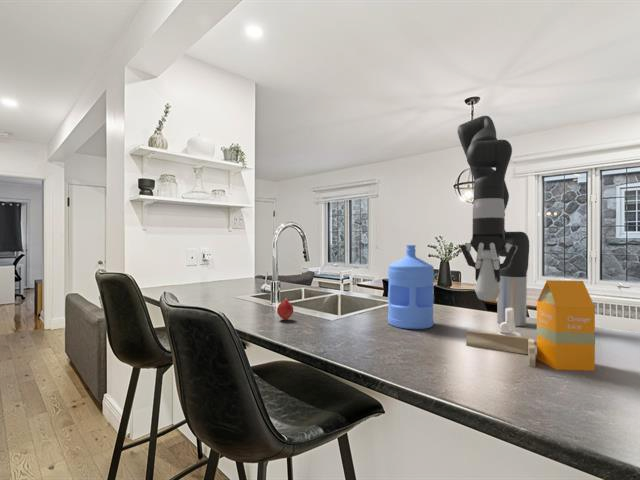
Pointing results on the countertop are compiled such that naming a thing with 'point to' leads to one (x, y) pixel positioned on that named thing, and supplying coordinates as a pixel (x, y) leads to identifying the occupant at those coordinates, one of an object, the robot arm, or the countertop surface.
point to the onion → (285, 309)
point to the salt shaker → (487, 279)
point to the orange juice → (566, 326)
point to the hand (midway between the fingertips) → (487, 283)
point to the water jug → (410, 292)
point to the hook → (509, 324)
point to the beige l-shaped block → (502, 343)
